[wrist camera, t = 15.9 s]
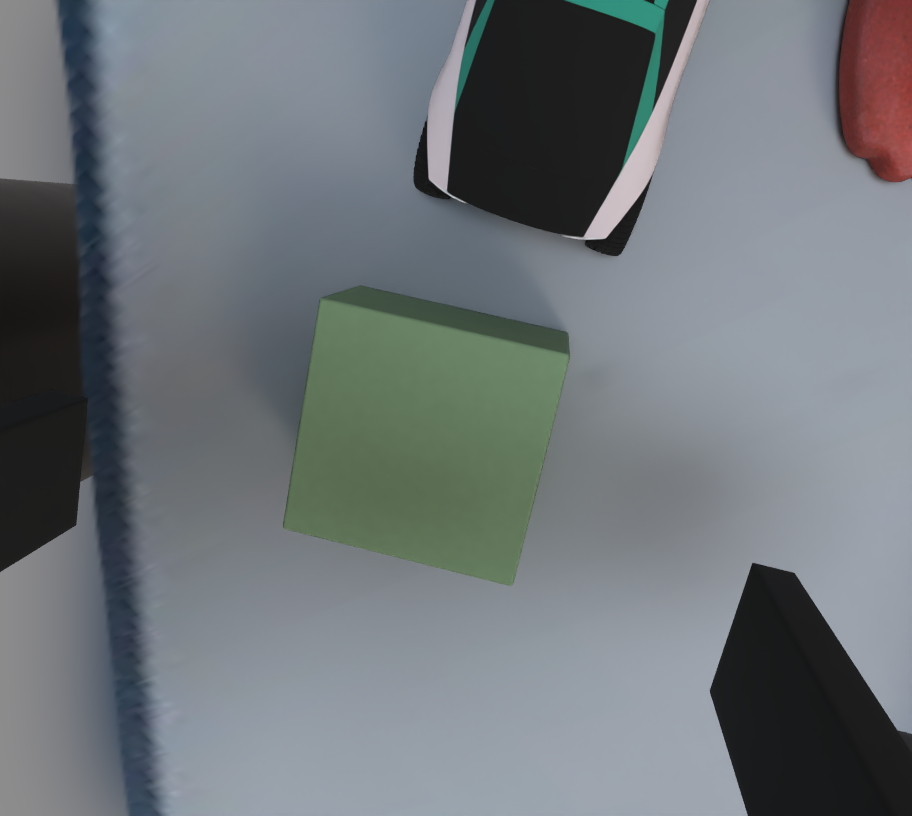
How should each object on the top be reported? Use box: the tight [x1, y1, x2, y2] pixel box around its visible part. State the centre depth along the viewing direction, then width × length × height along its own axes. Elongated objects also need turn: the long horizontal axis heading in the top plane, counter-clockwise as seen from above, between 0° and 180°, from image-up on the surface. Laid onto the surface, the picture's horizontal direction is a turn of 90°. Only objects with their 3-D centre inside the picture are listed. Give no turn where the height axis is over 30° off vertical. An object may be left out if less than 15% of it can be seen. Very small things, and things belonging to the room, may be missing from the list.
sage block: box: [283, 286, 570, 586], centre depth 22 cm, size 6×6×4 cm
